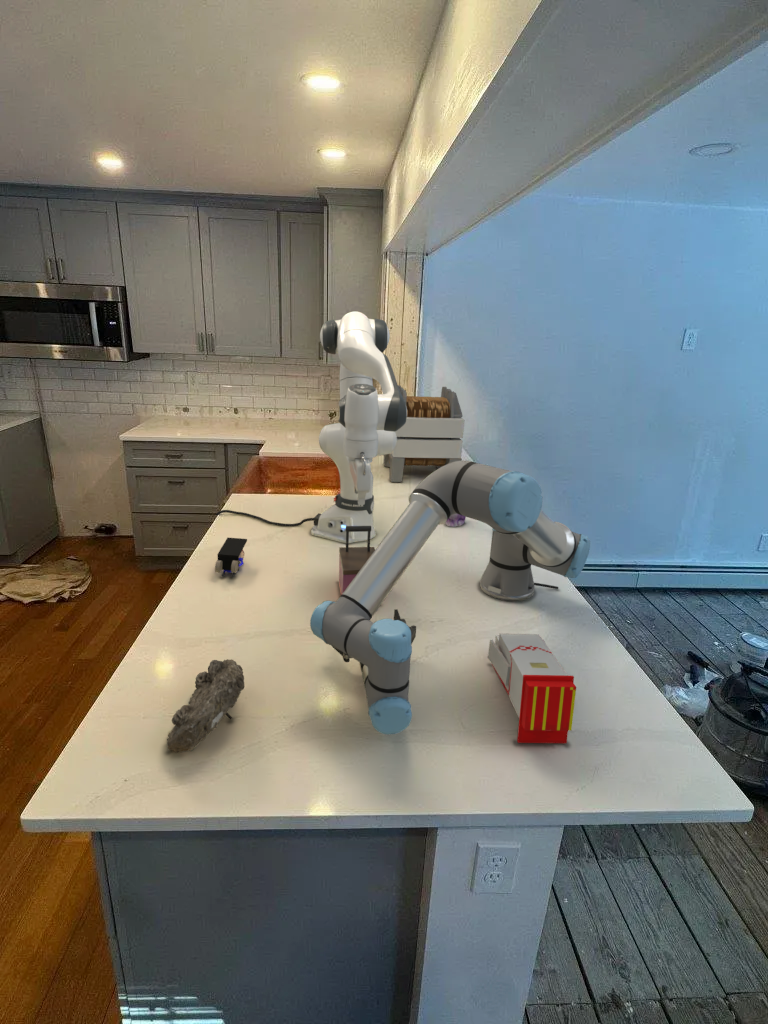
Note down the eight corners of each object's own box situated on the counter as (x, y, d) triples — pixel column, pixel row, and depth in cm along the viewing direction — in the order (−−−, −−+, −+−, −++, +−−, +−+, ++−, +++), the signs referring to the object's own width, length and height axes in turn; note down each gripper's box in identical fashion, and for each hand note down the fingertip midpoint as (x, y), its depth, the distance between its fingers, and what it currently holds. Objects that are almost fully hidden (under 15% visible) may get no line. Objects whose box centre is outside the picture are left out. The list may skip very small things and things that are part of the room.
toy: (536, 617, 130) (585, 683, 100) (531, 671, 132) (578, 750, 103) (483, 616, 129) (518, 682, 100) (479, 670, 132) (511, 749, 103)
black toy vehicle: (238, 584, 162) (249, 557, 175) (236, 562, 158) (247, 536, 172) (215, 584, 161) (227, 556, 175) (212, 561, 158) (225, 535, 171)
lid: (339, 551, 161) (339, 522, 158) (373, 550, 162) (375, 522, 159) (343, 574, 147) (343, 543, 144) (381, 573, 148) (382, 543, 145)
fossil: (192, 660, 117) (244, 628, 112) (224, 691, 120) (276, 661, 115) (142, 746, 98) (202, 712, 93) (182, 779, 101) (242, 748, 96)
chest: (338, 582, 163) (339, 552, 160) (373, 581, 164) (374, 552, 161) (342, 606, 150) (343, 575, 147) (379, 605, 151) (381, 574, 148)
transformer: (382, 463, 289) (386, 382, 275) (445, 464, 293) (451, 384, 279) (390, 482, 257) (394, 392, 243) (460, 483, 261) (468, 394, 247)
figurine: (451, 529, 206) (455, 489, 201) (436, 519, 214) (439, 481, 209) (472, 525, 210) (476, 487, 205) (457, 516, 219) (460, 479, 214)
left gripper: (377, 458, 139) (375, 511, 144) (368, 439, 158) (366, 487, 163) (352, 458, 138) (350, 511, 143) (345, 439, 157) (344, 487, 162)
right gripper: (317, 688, 113) (314, 631, 133) (438, 681, 117) (417, 627, 137) (317, 656, 111) (314, 603, 130) (441, 650, 115) (419, 599, 134)
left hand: (359, 498), depth 153 cm, fingers open, 8 cm apart
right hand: (367, 615), depth 134 cm, fingers open, 13 cm apart
